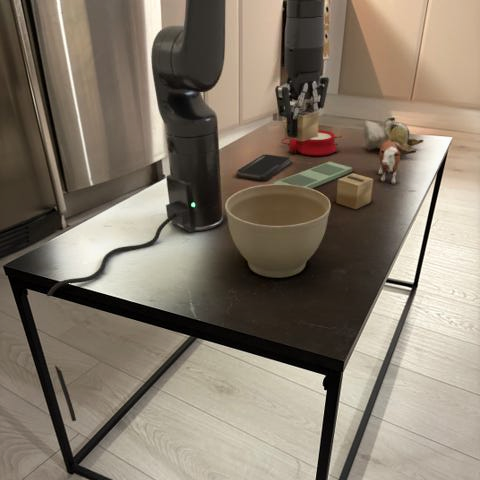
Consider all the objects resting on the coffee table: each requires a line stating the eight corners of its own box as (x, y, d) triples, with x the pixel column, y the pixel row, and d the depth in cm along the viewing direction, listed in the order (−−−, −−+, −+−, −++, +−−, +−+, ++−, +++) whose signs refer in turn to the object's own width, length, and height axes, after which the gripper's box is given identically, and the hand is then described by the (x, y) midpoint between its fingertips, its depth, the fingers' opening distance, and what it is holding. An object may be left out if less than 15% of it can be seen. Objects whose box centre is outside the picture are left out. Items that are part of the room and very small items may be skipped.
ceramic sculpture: (371, 108, 133) (429, 117, 127) (365, 141, 138) (421, 151, 132) (359, 118, 125) (421, 128, 120) (354, 153, 130) (412, 163, 125)
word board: (295, 195, 108) (295, 190, 108) (272, 187, 113) (272, 182, 112) (352, 171, 119) (352, 167, 119) (329, 165, 124) (329, 161, 123)
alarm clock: (338, 143, 126) (281, 126, 127) (331, 167, 130) (276, 150, 131) (344, 132, 134) (290, 116, 136) (336, 155, 138) (285, 139, 139)
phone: (234, 172, 118) (264, 153, 129) (235, 176, 119) (264, 158, 129) (264, 176, 115) (292, 157, 125) (264, 181, 115) (292, 162, 126)
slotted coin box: (355, 209, 101) (358, 184, 98) (335, 202, 104) (338, 178, 101) (370, 202, 104) (373, 177, 101) (350, 196, 107) (353, 172, 104)
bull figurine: (375, 188, 110) (380, 150, 105) (377, 168, 121) (381, 133, 116) (396, 189, 109) (402, 151, 105) (396, 169, 120) (401, 134, 115)
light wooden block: (302, 141, 104) (303, 115, 101) (284, 137, 107) (284, 111, 104) (317, 136, 107) (319, 110, 104) (300, 132, 110) (301, 106, 107)
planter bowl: (208, 266, 84) (203, 204, 78) (273, 234, 93) (274, 177, 87) (280, 302, 74) (281, 235, 68) (345, 263, 83) (352, 200, 77)
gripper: (313, 38, 103) (309, 124, 113) (264, 46, 96) (264, 138, 105) (343, 40, 99) (336, 130, 109) (293, 49, 91) (291, 145, 101)
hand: (301, 133), depth 107 cm, fingers closed on light wooden block, 5 cm apart
